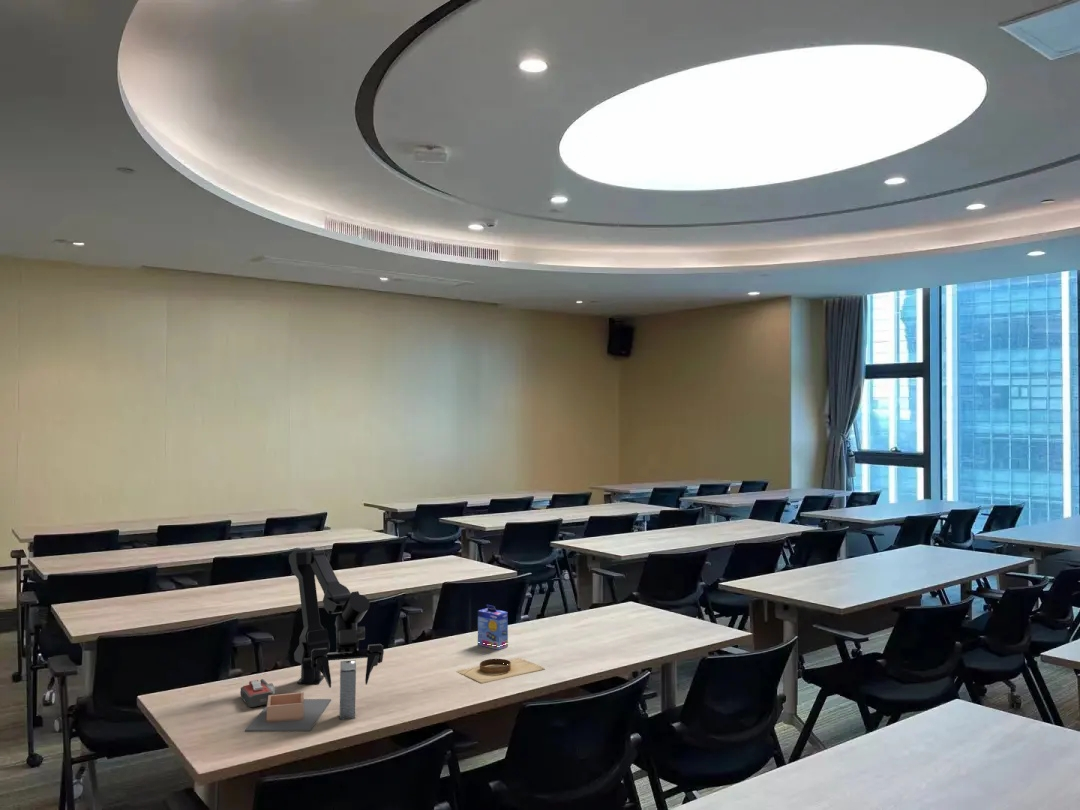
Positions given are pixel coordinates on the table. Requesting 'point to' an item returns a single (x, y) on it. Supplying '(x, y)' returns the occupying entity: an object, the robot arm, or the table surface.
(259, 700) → the grey red device
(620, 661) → the table surface
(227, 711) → the table surface
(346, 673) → the grey block
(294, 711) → the open box
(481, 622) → the ink cartridge box
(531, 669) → the board
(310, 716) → the mat
